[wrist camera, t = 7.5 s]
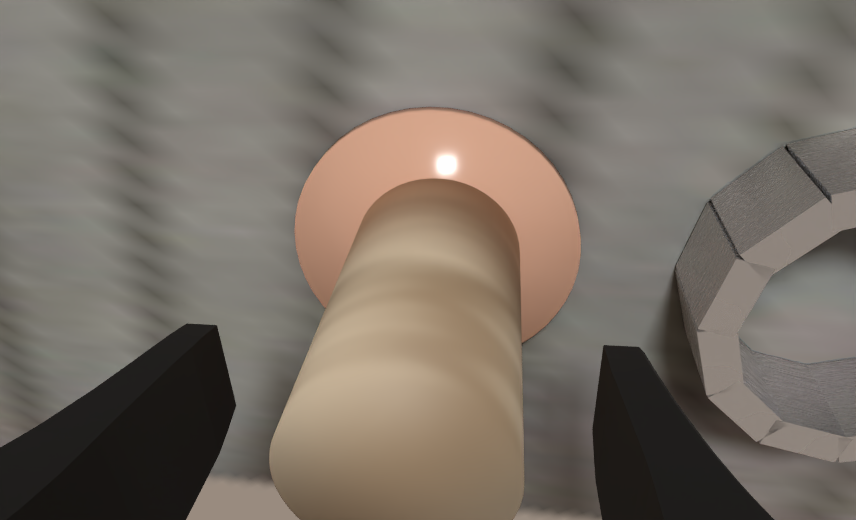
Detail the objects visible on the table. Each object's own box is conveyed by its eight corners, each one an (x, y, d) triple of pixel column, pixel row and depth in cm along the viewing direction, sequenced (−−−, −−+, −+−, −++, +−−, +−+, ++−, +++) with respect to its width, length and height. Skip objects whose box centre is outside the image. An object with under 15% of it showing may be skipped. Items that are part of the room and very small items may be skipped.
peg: (554, 252, 16) (579, 485, 10) (444, 345, 18) (411, 590, 12) (428, 143, 15) (374, 333, 9) (324, 254, 17) (222, 473, 11)
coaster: (641, 247, 16) (643, 255, 16) (443, 392, 19) (442, 402, 19) (426, 40, 14) (424, 45, 14) (246, 239, 18) (240, 247, 17)
